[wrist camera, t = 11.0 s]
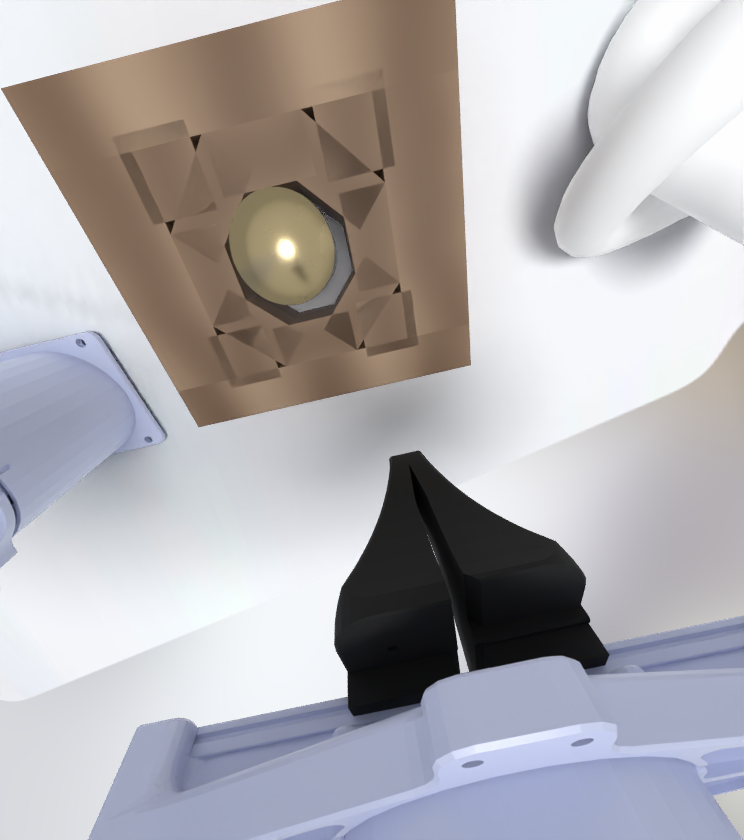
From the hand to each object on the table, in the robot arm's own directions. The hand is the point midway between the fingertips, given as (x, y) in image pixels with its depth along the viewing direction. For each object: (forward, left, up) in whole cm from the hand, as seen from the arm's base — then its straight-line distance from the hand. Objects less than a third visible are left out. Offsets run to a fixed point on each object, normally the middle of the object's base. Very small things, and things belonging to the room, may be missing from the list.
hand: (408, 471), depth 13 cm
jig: (-3, +9, -9) cm, 13 cm away
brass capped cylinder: (-3, +9, -9) cm, 14 cm away
